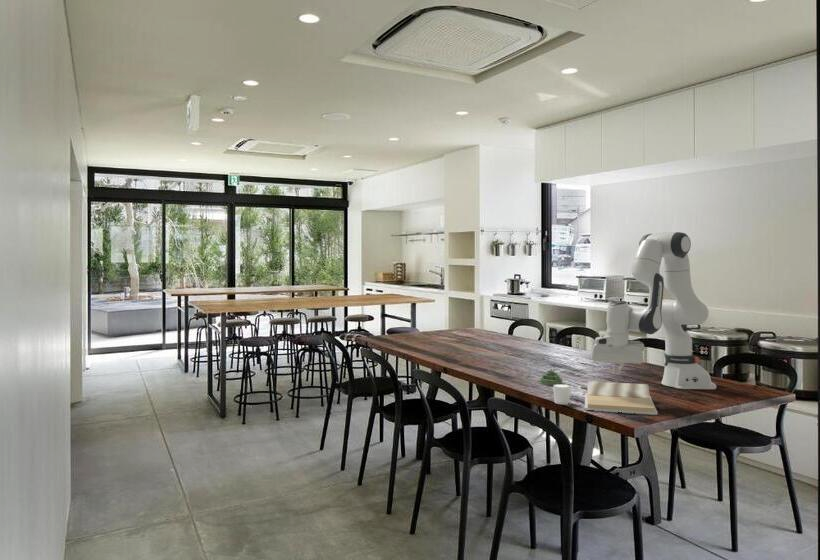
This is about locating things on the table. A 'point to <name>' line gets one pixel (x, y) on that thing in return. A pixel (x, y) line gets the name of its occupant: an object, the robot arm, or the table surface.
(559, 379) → the decorative artifact
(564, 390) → the white cylinder
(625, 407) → the cream square board
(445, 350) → the table surface
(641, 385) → the tilted plank
